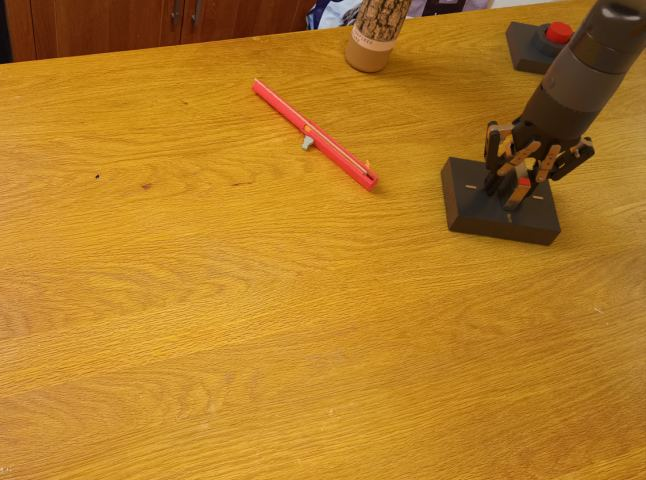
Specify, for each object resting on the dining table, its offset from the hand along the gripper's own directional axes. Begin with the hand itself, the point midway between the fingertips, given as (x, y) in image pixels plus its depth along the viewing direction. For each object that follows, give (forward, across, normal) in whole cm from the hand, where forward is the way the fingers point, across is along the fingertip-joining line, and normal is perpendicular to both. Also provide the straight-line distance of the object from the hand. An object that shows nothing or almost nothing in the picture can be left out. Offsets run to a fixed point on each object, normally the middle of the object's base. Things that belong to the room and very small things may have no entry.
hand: (503, 192), depth 99 cm
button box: (+3, -14, -37) cm, 40 cm away
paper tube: (+3, +17, -28) cm, 33 cm away
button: (-1, -14, -37) cm, 40 cm away
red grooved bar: (+3, +26, -8) cm, 27 cm away
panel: (+3, 0, 0) cm, 3 cm away
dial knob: (0, 0, 0) cm, 0 cm away
